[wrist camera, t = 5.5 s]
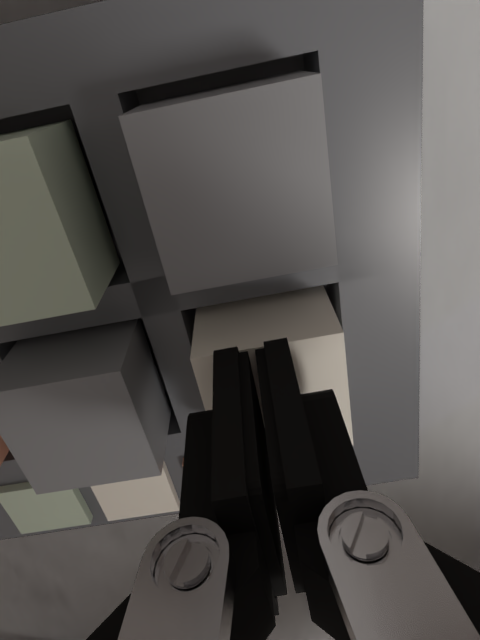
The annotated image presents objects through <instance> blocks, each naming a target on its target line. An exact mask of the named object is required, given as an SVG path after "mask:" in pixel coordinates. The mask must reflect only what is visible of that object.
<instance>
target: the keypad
mask: <svg viewBox="0 0 480 640" xmlns="http://www.w3.org/2000/svg"><path fill="white" fill-rule="evenodd" d="M422 82H423V0H104V1H100V2H96V3H91V4H87V5H83V6H78V7H74V8H70V9H65V10H61V11H57V12H52V13H48V14H44V15H39V16H35V17H31V18H26V19H22V20H18V21H13V22H9V23H5V24H0V134H4V133H9V132H14V131H18V130H23V129H28V128H32V127H37V126H42V125H46V124H51V123H56V122H60V121H65V120H70V119H71V121H72V124H73V127H74V130H75V133H76V136H77V139H78V141H79V144H80V147H81V150H82V153H83V156H84V159H85V162H86V165H87V168H88V171H89V173H90V176H91V179H92V182H93V185H94V188H95V191H96V194H97V197H98V200H99V202H100V205H101V208H102V211H103V214H104V217H105V220H106V223H107V226H108V229H109V232H110V234H111V237H112V240H113V243H114V246H115V249H116V252H117V255H118V258H119V261H120V264H119V266H118V268H117V269H116V271H115V273H114V275H113V277H112V279H111V281H110V283H109V285H108V287H107V288H106V290H105V292H104V294H103V296H102V298H101V300H100V302H99V304H98V306H97V308H96V309H94V310H88V311H83V312H78V313H72V314H67V315H61V316H56V317H50V318H45V319H39V320H34V321H28V322H23V323H17V324H12V325H7V326H1V327H0V435H1V437H2V439H3V440H4V442H5V444H6V445H7V447H8V448H9V452H8V454H7V455H6V457H5V459H4V461H3V463H2V464H1V466H0V540H3V539H10V538H17V537H24V536H30V535H37V534H44V533H50V532H57V531H64V530H71V529H77V528H84V527H91V526H97V525H104V524H111V523H118V522H124V521H131V520H138V519H144V518H151V517H158V516H165V515H171V514H178V513H179V510H180V498H181V486H182V474H183V462H184V450H185V438H186V426H187V418H188V415H189V414H190V413H195V412H201V411H205V408H204V405H203V401H202V398H201V395H200V391H199V388H198V384H197V381H196V378H195V374H194V371H193V368H192V364H191V361H190V355H191V347H192V338H193V330H194V322H195V313H196V308H199V307H204V306H210V305H215V304H221V303H226V302H232V301H238V300H243V299H249V298H254V297H260V296H265V295H271V294H276V293H282V292H287V291H293V290H299V289H304V288H310V287H315V286H321V285H323V286H324V288H325V290H326V293H327V295H328V297H329V300H330V302H331V304H332V307H333V309H334V311H335V313H336V316H337V318H338V320H339V323H340V325H341V327H342V330H343V332H344V341H345V352H346V364H347V375H348V386H349V398H350V409H351V421H352V432H353V444H354V446H353V449H354V452H355V455H356V457H357V460H358V463H359V466H360V469H361V472H362V475H363V478H364V481H365V484H366V485H373V484H379V483H386V482H393V481H399V480H406V479H413V478H418V470H419V373H420V276H421V179H422Z"/></svg>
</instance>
